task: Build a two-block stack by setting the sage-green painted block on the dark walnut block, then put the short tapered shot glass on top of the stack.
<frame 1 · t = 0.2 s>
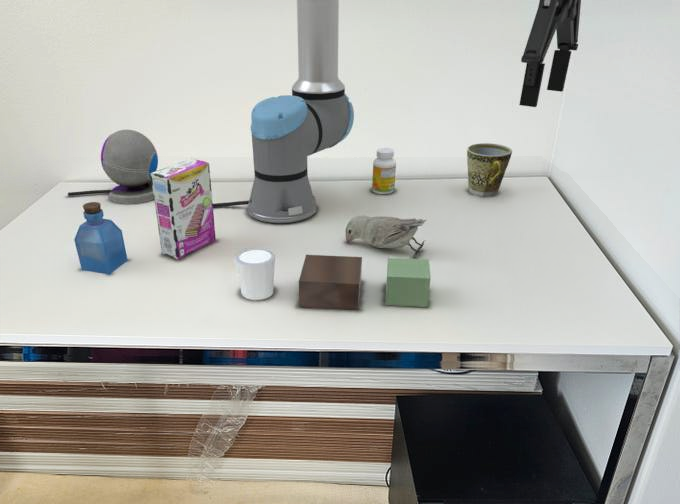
hand: (541, 98, 107), 28 cm above the table, tool pointing down, fingers open, 13 cm apart
grey ball on base: (136, 194, 150), on the table
perfume bottle: (105, 265, 119), on the table
green block: (406, 296, 107), on the table
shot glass: (257, 293, 109), on the table
candy bar box: (190, 248, 124), on the table
ceramic cup: (485, 194, 146), on the table
supplement bottle: (382, 191, 149), on the table
walnut block: (331, 294, 108), on the table
decorative bird: (383, 249, 123), on the table
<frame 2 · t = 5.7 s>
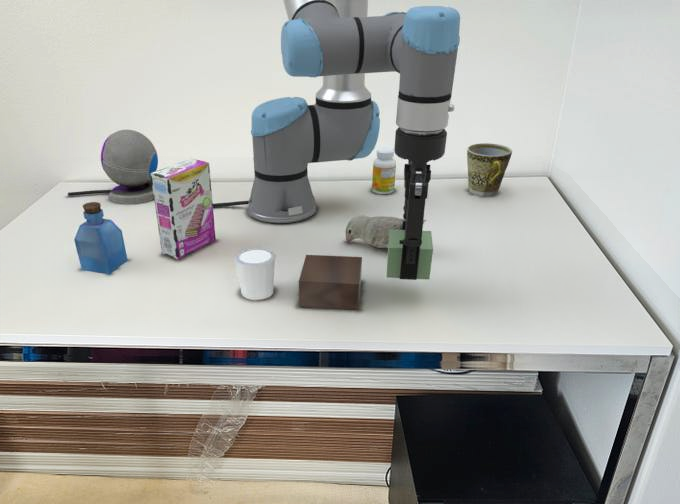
hand: (407, 267, 104), 5 cm above the table, tool pointing down, fingers closed on green block, 7 cm apart
green block: (407, 268, 104), point 5 cm above the table, touching gripper
everything else where it was.
when the fingers open (5 cm above the table, at t = 9.5 s): green block stays where it is, resting on walnut block.
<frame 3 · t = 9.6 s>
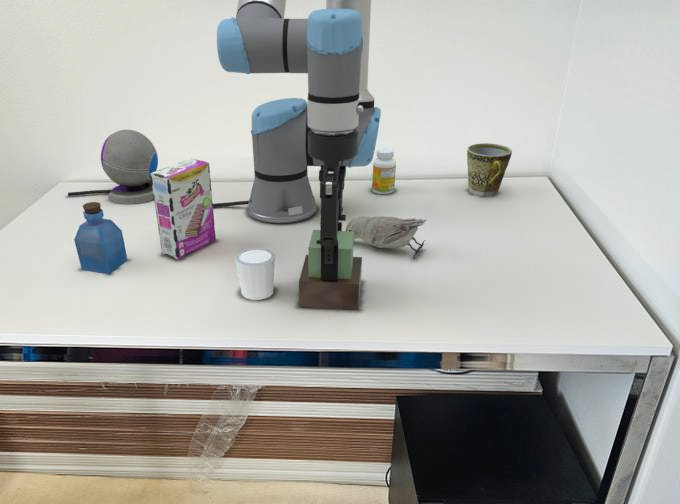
hand: (331, 267, 105), 5 cm above the table, tool pointing down, fingers open, 7 cm apart
green block: (331, 268, 105), point 5 cm above the table, touching gripper, walnut block
walnut block: (331, 294, 108), on the table, touching green block, gripper
everything else where it was.
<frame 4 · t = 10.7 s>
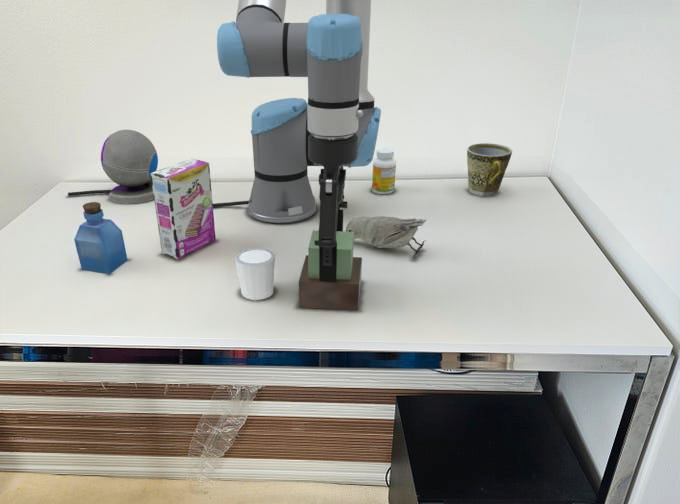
hand: (331, 262, 104), 6 cm above the table, tool pointing down, fingers open, 13 cm apart
green block: (331, 269, 105), point 5 cm above the table, touching walnut block
walnut block: (331, 294, 108), on the table, touching green block
everything else where it was.
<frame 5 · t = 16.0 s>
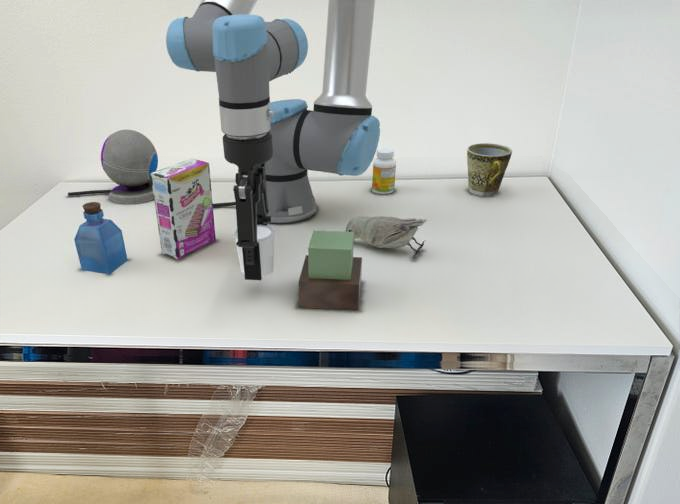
hand: (257, 268, 107), 4 cm above the table, tool pointing down, fingers closed on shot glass, 7 cm apart
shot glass: (257, 270, 107), point 4 cm above the table, touching gripper
everything else where it was.
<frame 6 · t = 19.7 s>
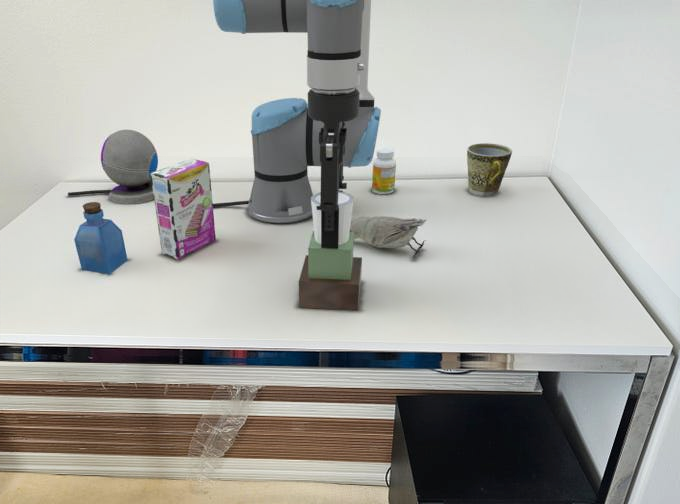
hand: (331, 237, 102), 11 cm above the table, tool pointing down, fingers closed on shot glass, 7 cm apart
green block: (331, 269, 105), point 5 cm above the table, touching gripper, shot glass, walnut block
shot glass: (331, 239, 102), point 10 cm above the table, touching green block, gripper
everything else where it was.
when the fingers open (11 cm above the table, at t = 20.2 s): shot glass stays where it is, resting on green block.
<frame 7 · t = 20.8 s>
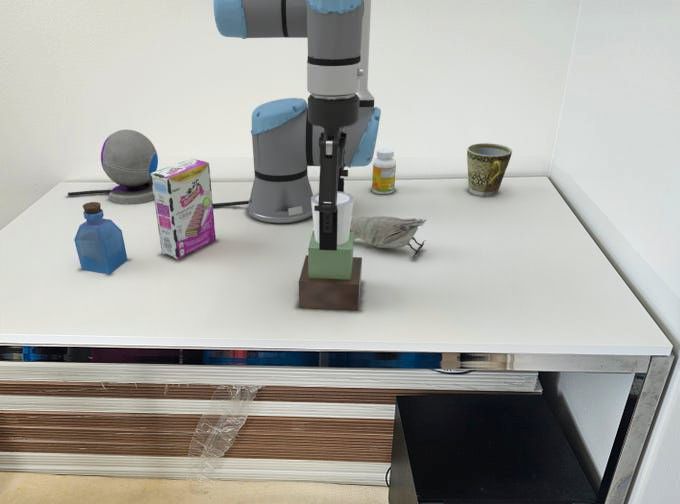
hand: (331, 231, 101), 12 cm above the table, tool pointing down, fingers open, 13 cm apart
green block: (331, 269, 105), point 5 cm above the table, touching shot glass, walnut block
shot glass: (331, 239, 102), point 10 cm above the table, touching green block
everything else where it was.
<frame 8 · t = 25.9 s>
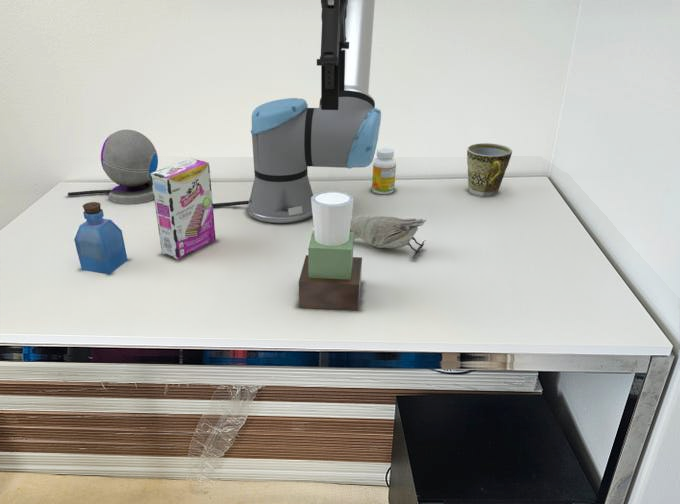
hand: (333, 99, 104), 29 cm above the table, tool pointing down, fingers open, 13 cm apart
nothing on the table moved.
at the end: green block 0.2 cm off-centre on the walnut block, point 5.0 cm above the walnut block's base; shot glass 0.3 cm from the green block (horizontally); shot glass point 10.3 cm above the table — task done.
